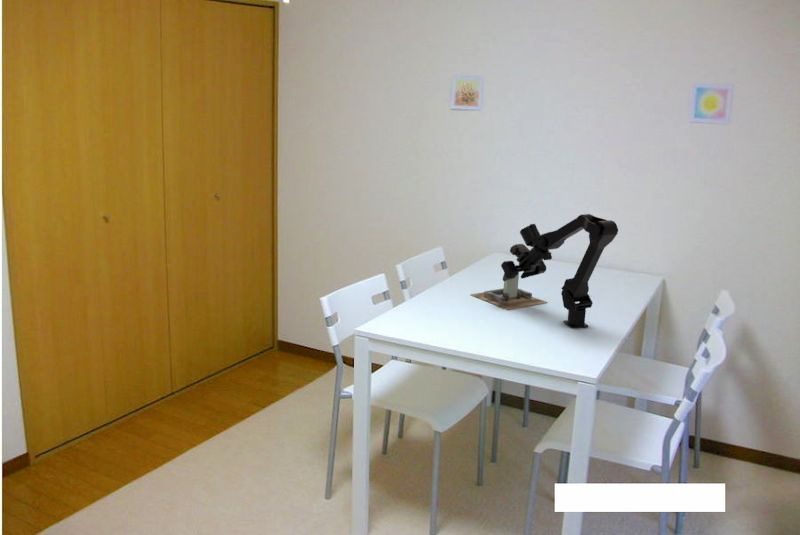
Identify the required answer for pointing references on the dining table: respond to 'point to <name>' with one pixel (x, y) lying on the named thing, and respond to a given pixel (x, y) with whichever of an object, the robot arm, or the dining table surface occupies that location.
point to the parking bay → (500, 301)
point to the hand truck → (511, 289)
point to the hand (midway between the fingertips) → (512, 278)
